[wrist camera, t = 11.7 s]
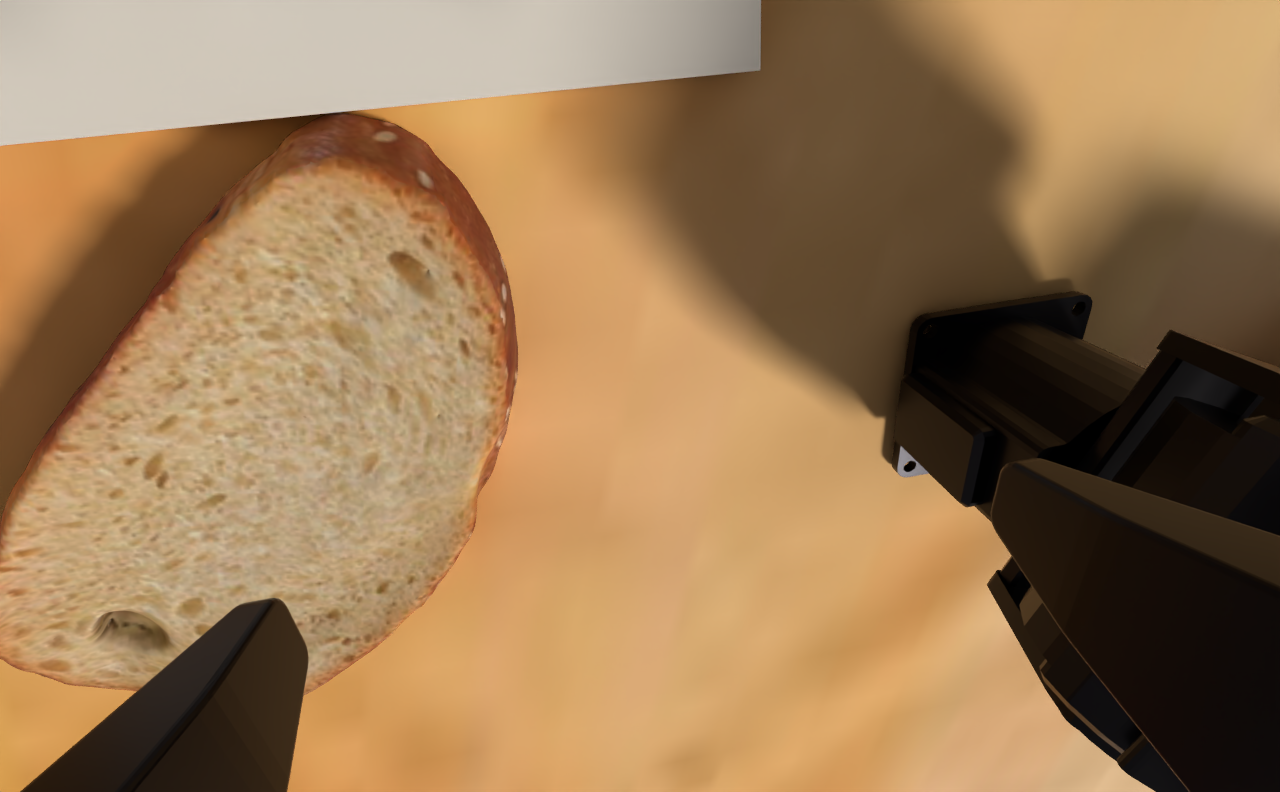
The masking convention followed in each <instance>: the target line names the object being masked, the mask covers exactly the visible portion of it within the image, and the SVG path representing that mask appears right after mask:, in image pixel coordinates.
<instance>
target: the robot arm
mask: <svg viewBox="0 0 1280 792" xmlns="http://www.w3.org/2000/svg"><path fill="white" fill-rule="evenodd" d="M1075 305H1076V306H1075ZM1074 306H1075V308H1074V309H1073V307H1074ZM1091 308H1092V300H1091V297H1089V296H1088V295H1085V294H1083V293H1080V292H1075V291H1073V292H1066V293H1059V294H1053V295H1046V296H1039V297H1033V298H1026V299H1019V300H1013V301H1006V302H999V303H993V304H986V305H979V306H973V307H966V308H959V309H953V310H946V311H939V312H933V313H926V314H923V315H920V316H919V317H918V318H916V319H915V321H914V322H913V323H912V325H911V329H910V335H909V342H908V349H907V356H906V364H905V371H904V377H903V379H902V381H901V386H900V394H899V401H898V408H897V416H896V423H895V430H894V440H895V444H894V451H893V458H892V467H893V468H894V470H895V471H896V472H897V473H898V474H899V475H900V476H902V477H912V476H917V475H923V474H928V473H929V474H930V475H931V476H932V477H933V478H934V479H935V480H937V481H938V482H939V483H940V484H941V485H942V486H943V487H944V488H945V489H946V490H947V491H948V492H949V493H950V494H951V495H952V496H953V497H954V498H955V499H956V500H957V501H958V502H959V503H961V504H962V505H963V506H965V507H971V506H975V507H976V508H977V509H978V510H979V511H980V512H981V513H982V514H983V515H985V516H986V517H987V518H988V519H989V520H990V521H991V522H992V524H993V527H994V529H995V531H996V533H997V534H998V536H999V537H1000V539H1001V540H1002V542H1003V543H1004V545H1005V546H1006V548H1007V549H1008V551H1009V552H1010V554H1011V555H1012V556H1011V557H1010V559H1009V560H1008V561H1007V563H1006V564H1005V566H1004V567H1003V568H1002V570H997V571H996V572H995V574H994V575H993V576H992V578H991V579H990V581H989V582H988V583H987V586H988V588H989V590H990V591H991V593H992V595H993V597H994V599H995V600H996V602H997V604H998V606H999V607H1000V609H1001V611H1002V613H1003V615H1004V616H1005V618H1006V620H1007V622H1008V623H1009V625H1010V627H1011V629H1012V631H1013V632H1014V634H1015V636H1016V638H1017V639H1018V641H1019V643H1020V645H1021V647H1022V648H1023V650H1024V652H1025V654H1026V655H1027V657H1028V659H1029V661H1030V663H1031V664H1032V666H1033V668H1034V670H1035V671H1036V673H1037V675H1038V677H1039V679H1040V680H1041V682H1042V684H1043V686H1044V687H1045V689H1046V691H1047V692H1048V694H1049V695H1050V697H1051V698H1052V700H1053V701H1054V703H1055V704H1056V706H1057V707H1058V708H1059V710H1060V712H1061V714H1062V715H1063V717H1064V718H1065V719H1066V720H1067V721H1068V722H1069V723H1070V724H1071V725H1072V726H1074V727H1075V728H1076V729H1078V730H1080V731H1081V732H1082V733H1083V734H1084V735H1085V736H1086V737H1087V738H1088V739H1089V740H1090V741H1091V742H1093V743H1094V744H1095V745H1096V746H1098V747H1099V748H1100V749H1101V750H1102V751H1104V752H1105V753H1106V754H1107V755H1109V756H1110V757H1111V758H1113V759H1114V760H1116V761H1117V763H1118V765H1119V766H1120V767H1121V769H1122V770H1124V771H1125V772H1126V773H1127V774H1128V775H1130V776H1131V777H1133V778H1135V779H1136V780H1138V781H1139V782H1141V783H1143V784H1144V785H1146V786H1148V787H1149V788H1151V789H1152V790H1154V791H1156V792H1280V367H1278V366H1275V365H1272V364H1269V363H1266V362H1263V361H1260V360H1257V359H1254V358H1251V357H1249V356H1246V355H1243V354H1240V353H1237V352H1234V351H1231V350H1228V349H1225V348H1222V347H1220V346H1217V345H1214V344H1211V343H1208V342H1205V341H1202V340H1199V339H1196V338H1194V337H1191V336H1188V335H1185V334H1182V333H1179V332H1176V331H1173V330H1169V332H1168V333H1167V334H1166V336H1165V337H1164V339H1163V340H1162V341H1161V343H1160V344H1159V346H1158V347H1157V349H1160V351H1159V353H1158V354H1157V355H1156V357H1155V358H1154V359H1153V361H1152V362H1151V364H1150V365H1149V366H1148V368H1147V369H1144V368H1142V367H1140V366H1138V365H1136V364H1133V363H1131V362H1129V361H1127V360H1125V359H1123V358H1120V357H1118V356H1116V355H1114V354H1112V353H1110V352H1108V351H1105V350H1103V349H1101V348H1099V347H1097V346H1095V345H1092V344H1090V343H1088V342H1086V341H1084V340H1082V339H1083V336H1084V332H1085V329H1086V325H1087V322H1088V318H1089V315H1090V311H1091ZM929 325H931V327H930V330H929V331H928V332H927V333H925V334H924V330H925V329H926V328H927V327H928V326H929ZM907 462H909V463H908V464H907V465H905V464H906V463H907ZM904 465H905V466H904ZM308 661H309V657H308V650H307V646H306V643H305V641H304V639H303V637H302V635H301V633H300V631H299V629H298V627H297V625H296V623H295V621H294V619H293V617H292V615H291V614H290V612H289V610H288V608H287V606H286V604H285V603H284V602H283V601H282V600H281V599H279V598H268V599H262V600H257V601H251V602H246V603H243V604H240V605H238V606H236V607H235V608H234V609H232V610H231V611H230V612H229V613H228V614H226V615H225V616H224V617H223V618H222V619H221V620H219V621H218V622H217V623H216V624H215V625H214V626H212V627H211V628H210V629H209V630H208V631H207V632H205V633H204V634H203V635H202V636H201V637H200V638H198V639H197V640H196V641H195V642H194V643H193V644H191V645H190V646H189V647H188V648H187V649H186V650H184V651H183V652H182V653H181V654H180V655H179V656H178V657H176V658H175V659H174V660H173V661H172V662H171V663H169V664H168V665H167V666H166V667H165V668H164V669H162V670H161V671H160V672H159V673H158V674H157V675H155V676H154V677H153V678H152V679H151V680H150V681H148V682H147V683H146V684H145V685H144V686H143V687H141V688H140V689H139V690H138V691H137V692H136V693H134V694H133V695H132V696H131V697H130V698H129V699H127V700H126V701H125V702H124V703H123V704H122V705H121V706H119V707H118V708H117V709H116V710H115V711H114V712H112V713H111V714H110V715H109V716H108V717H107V718H105V719H104V720H103V721H102V722H101V723H100V724H98V725H97V726H96V727H95V728H94V729H93V730H91V731H90V732H89V733H88V734H87V735H86V736H84V737H83V738H82V739H81V740H80V741H79V742H77V743H76V744H75V745H74V746H73V747H72V748H70V749H69V750H68V751H67V752H66V753H65V754H63V755H62V756H61V757H60V758H59V759H58V760H57V761H55V762H54V763H53V764H52V765H51V766H50V767H48V768H47V769H46V770H45V771H44V772H43V773H41V774H40V775H39V776H38V777H37V778H36V779H34V780H33V781H32V782H31V783H30V784H29V785H27V786H26V787H25V788H24V789H23V790H22V791H20V792H287V789H288V784H289V778H290V772H291V766H292V760H293V754H294V748H295V742H296V736H297V730H298V724H299V718H300V713H301V707H302V701H303V695H304V689H305V683H306V677H307V671H308Z"/></svg>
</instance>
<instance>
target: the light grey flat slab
mask: <svg viewBox="0 0 1280 792" xmlns="http://www.w3.org/2000/svg"><path fill="white" fill-rule="evenodd" d="M760 64H761V0H0V146H2V145H12V144H22V143H32V142H42V141H52V140H62V139H72V138H83V137H93V136H103V135H113V134H123V133H133V132H143V131H153V130H163V129H173V128H184V127H194V126H204V125H214V124H224V123H234V122H244V121H254V120H264V119H274V118H285V117H295V116H305V115H315V114H325V113H335V112H345V111H355V110H365V109H376V108H386V107H396V106H406V105H416V104H426V103H436V102H446V101H456V100H466V99H477V98H487V97H497V96H507V95H517V94H527V93H537V92H547V91H557V90H567V89H578V88H588V87H598V86H608V85H618V84H628V83H638V82H648V81H658V80H668V79H679V78H689V77H699V76H709V75H719V74H729V73H739V72H749V71H759V70H760Z"/></svg>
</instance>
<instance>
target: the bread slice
mask: <svg viewBox="0 0 1280 792" xmlns="http://www.w3.org/2000/svg"><path fill="white" fill-rule="evenodd" d="M517 371H518V346H517V336H516V326H515V314H514V307H513V302H512V297H511V290H510V285H509V281H508V276H507V272H506V268H505V265H504V262H503V259H502V257H501V255H500V252H499V250H498V248H497V245H496V243H495V241H494V238H493V235H492V233H491V231H490V228H489V226H488V225H487V223H486V221H485V220H484V218H483V216H482V214H481V213H480V211H479V210H478V208H477V206H476V204H475V203H474V201H473V199H472V198H471V196H470V195H469V193H468V191H467V190H466V188H465V187H464V186H463V184H462V183H461V182H460V180H459V179H458V178H457V177H456V175H455V174H454V173H453V172H452V171H451V170H450V169H449V168H447V167H446V166H445V165H444V164H443V163H442V162H441V161H440V160H439V158H438V157H437V156H436V155H435V154H434V152H433V151H432V149H431V148H430V147H429V145H428V144H427V143H426V142H424V141H423V140H422V139H420V138H418V137H417V136H415V135H413V134H412V133H410V132H408V131H406V130H404V129H402V128H400V127H398V126H396V125H395V124H392V123H388V122H385V121H380V120H375V119H371V118H366V117H362V116H358V115H352V114H346V113H333V114H327V115H324V116H321V117H319V118H317V119H315V120H313V121H312V122H310V123H308V124H306V125H305V126H303V127H301V128H299V129H297V130H295V131H293V132H292V133H291V134H290V135H289V136H288V137H287V138H286V139H285V140H284V141H283V142H282V143H281V145H280V146H279V148H278V149H277V150H276V151H275V152H274V153H273V154H272V155H271V156H269V157H268V158H266V159H265V160H264V161H262V162H261V163H260V164H258V165H257V166H256V167H255V168H254V169H253V170H252V171H251V172H250V173H248V174H247V175H246V176H245V177H244V178H242V179H241V180H240V181H239V182H238V183H236V184H235V185H234V186H233V187H232V188H231V189H230V190H229V191H228V192H227V193H226V194H225V195H224V196H223V197H222V199H221V200H220V201H219V202H218V204H217V205H216V206H215V207H214V208H213V210H212V211H211V212H210V213H209V215H208V216H207V217H206V218H205V220H204V221H203V222H202V223H201V224H200V225H199V227H198V228H197V229H196V230H195V231H194V232H193V233H192V234H191V235H190V237H189V238H188V239H187V240H186V242H185V243H184V244H183V245H182V247H181V248H180V249H179V251H178V252H177V253H176V255H175V256H174V257H173V259H172V260H171V262H170V263H169V265H168V266H167V268H166V270H165V272H164V274H163V276H162V278H161V279H160V280H159V282H158V283H157V284H156V286H155V287H154V288H153V290H152V292H151V293H150V295H149V297H148V299H147V301H146V303H145V304H144V305H143V306H142V307H141V308H140V310H139V311H138V312H137V313H136V315H135V316H134V317H133V318H132V319H131V321H130V322H129V323H128V324H127V325H126V326H125V327H124V329H123V330H122V331H121V332H120V334H119V335H118V336H117V338H116V339H115V341H114V342H113V344H112V345H111V346H110V348H109V349H108V351H107V352H106V354H105V355H104V357H103V358H102V360H101V361H100V363H99V364H98V366H97V367H96V368H95V370H94V371H93V372H92V374H91V375H90V376H89V377H88V378H87V379H86V381H85V382H84V383H83V384H82V385H81V386H80V387H79V389H78V390H77V391H76V392H75V393H74V395H73V396H72V398H71V399H70V401H69V402H68V404H67V405H66V407H65V408H64V410H63V411H62V413H61V414H60V416H59V417H58V418H57V419H56V420H55V422H54V423H53V424H52V426H51V427H50V428H49V430H48V431H47V433H46V434H45V436H44V437H43V439H42V440H41V442H40V443H39V445H38V446H37V448H36V450H35V452H34V454H33V456H32V457H31V459H30V461H29V463H28V465H27V467H26V470H25V471H24V473H23V474H22V476H21V477H20V478H19V480H18V481H17V483H16V484H15V486H14V488H13V489H12V491H11V493H10V495H9V498H8V500H7V503H6V506H5V509H4V512H3V515H2V518H1V522H0V659H2V660H4V661H5V662H7V663H8V664H9V665H11V666H13V667H15V668H17V669H20V670H23V671H27V672H33V673H37V674H39V675H42V676H44V677H47V678H51V679H54V680H56V681H59V682H62V683H64V684H68V685H75V686H87V687H98V688H107V689H119V690H131V691H138V690H139V689H140V688H141V687H143V686H144V685H145V684H146V683H147V682H148V681H150V680H151V679H152V678H153V677H154V676H155V675H157V674H158V673H159V672H160V671H161V670H162V669H164V668H165V667H166V666H167V665H168V664H169V663H171V662H172V661H173V660H174V659H175V658H176V657H178V656H179V655H180V654H181V653H182V652H183V651H184V650H186V649H187V648H188V647H189V646H190V645H191V644H193V643H194V642H195V641H196V640H197V639H198V638H200V637H201V636H202V635H203V634H204V633H205V632H207V631H208V630H209V629H210V628H211V627H212V626H214V625H215V624H216V623H217V622H218V621H219V620H221V619H222V618H223V617H224V616H225V615H226V614H228V613H229V612H230V611H231V610H232V609H234V608H235V607H236V606H238V605H240V604H243V603H246V602H251V601H257V600H262V599H268V598H279V599H281V600H282V601H283V602H284V603H285V604H286V606H287V608H288V610H289V612H290V614H291V615H292V617H293V619H294V621H295V623H296V625H297V627H298V629H299V631H300V633H301V635H302V637H303V639H304V641H305V643H306V646H307V650H308V657H309V661H308V671H307V677H306V683H305V689H304V695H305V694H307V693H309V692H311V691H313V690H315V689H316V688H318V687H320V686H321V685H323V684H325V683H326V682H328V681H329V680H331V679H332V678H333V677H335V676H336V675H338V674H339V673H340V672H342V671H343V670H345V669H346V668H348V667H349V666H351V665H352V664H353V663H355V662H356V661H358V660H359V659H360V658H362V657H363V656H365V655H366V654H367V653H369V652H370V651H372V650H373V649H374V648H376V647H377V646H378V645H379V644H380V643H381V642H382V641H384V640H385V639H386V638H387V637H389V636H390V635H391V634H392V633H393V632H394V631H395V630H396V629H397V628H398V626H399V625H400V624H401V623H402V622H403V621H404V620H405V619H406V618H407V617H408V616H409V615H411V614H412V613H413V612H414V611H415V610H416V609H418V608H419V607H421V606H422V605H423V604H424V603H425V602H426V601H427V599H428V598H429V597H430V596H431V595H432V593H433V592H434V590H435V589H436V587H437V586H438V584H439V583H440V581H441V580H442V579H443V578H444V576H445V575H446V574H447V572H448V571H449V570H450V569H451V567H452V566H453V565H454V563H455V561H456V559H457V558H458V556H459V554H460V552H461V550H462V549H463V547H464V546H465V544H466V543H467V541H468V540H469V538H470V537H471V535H472V533H473V530H474V527H475V522H476V511H477V497H478V495H479V493H480V491H481V489H482V488H483V486H484V485H485V483H486V482H487V480H488V479H489V477H490V476H491V474H492V471H493V469H494V466H495V463H496V460H497V456H498V452H499V449H500V447H501V444H502V442H503V439H504V437H505V434H506V431H507V425H508V420H509V415H510V410H511V406H512V399H513V394H514V390H515V386H516V381H517Z"/></svg>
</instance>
